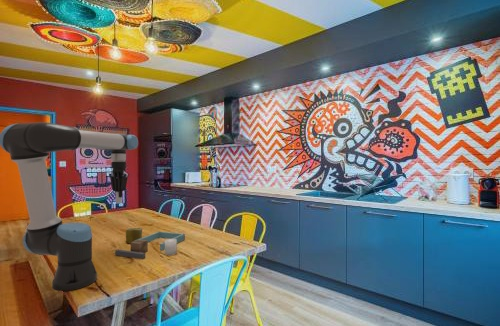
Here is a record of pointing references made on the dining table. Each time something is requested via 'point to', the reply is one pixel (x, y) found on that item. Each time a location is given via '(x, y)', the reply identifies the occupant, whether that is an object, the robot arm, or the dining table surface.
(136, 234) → the mug
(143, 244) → the walnut block
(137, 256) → the bar
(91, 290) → the dining table surface
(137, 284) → the dining table surface
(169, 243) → the white rounded capsule
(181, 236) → the teal u-shaped frame
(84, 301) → the dining table surface
